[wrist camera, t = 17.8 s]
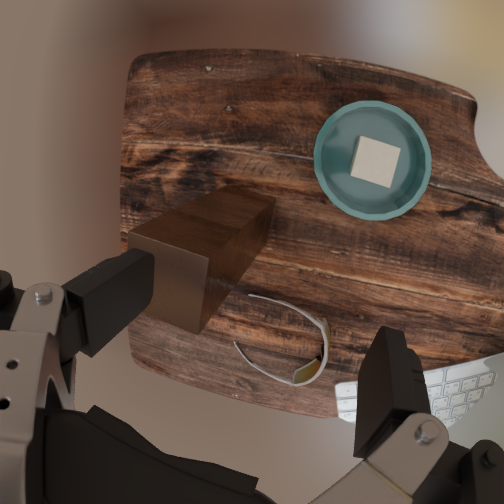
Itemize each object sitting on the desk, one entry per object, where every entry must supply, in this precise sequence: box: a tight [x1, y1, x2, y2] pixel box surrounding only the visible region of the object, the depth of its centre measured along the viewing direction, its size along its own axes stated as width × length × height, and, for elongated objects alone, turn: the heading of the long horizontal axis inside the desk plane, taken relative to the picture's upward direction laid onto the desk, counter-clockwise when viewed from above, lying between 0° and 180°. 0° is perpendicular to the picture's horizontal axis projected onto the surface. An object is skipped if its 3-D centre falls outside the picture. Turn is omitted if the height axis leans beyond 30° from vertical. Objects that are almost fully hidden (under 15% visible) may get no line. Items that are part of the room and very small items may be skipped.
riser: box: [127, 186, 276, 335], centre depth 33 cm, size 7×7×22 cm
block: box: [349, 136, 401, 188], centre depth 33 cm, size 4×4×6 cm
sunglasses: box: [233, 294, 330, 386], centre depth 47 cm, size 14×15×5 cm
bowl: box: [313, 101, 432, 221], centre depth 34 cm, size 14×14×5 cm
